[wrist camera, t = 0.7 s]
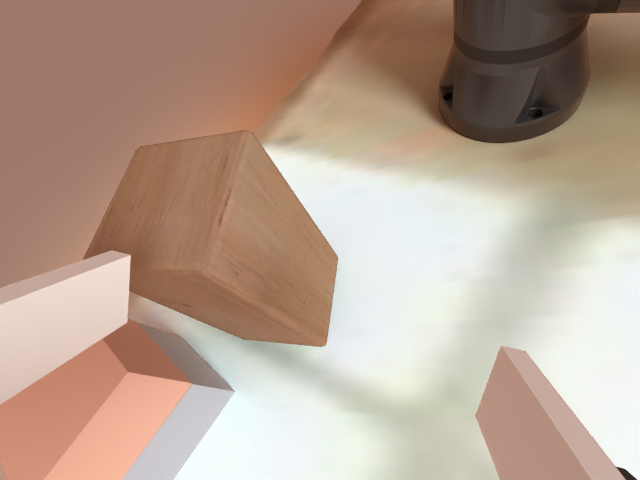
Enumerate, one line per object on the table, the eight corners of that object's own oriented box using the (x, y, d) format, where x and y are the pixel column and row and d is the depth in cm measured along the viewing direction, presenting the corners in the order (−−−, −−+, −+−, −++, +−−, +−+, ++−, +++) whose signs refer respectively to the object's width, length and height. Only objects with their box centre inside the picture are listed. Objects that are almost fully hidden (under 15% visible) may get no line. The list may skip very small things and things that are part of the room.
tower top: (136, 322, 35) (72, 300, 29) (192, 383, 30) (128, 372, 24) (64, 411, 33) (-20, 407, 27) (111, 494, 27) (18, 511, 22)
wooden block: (241, 339, 38) (73, 269, 21) (261, 256, 42) (135, 144, 25) (327, 348, 34) (206, 271, 18) (339, 256, 38) (251, 125, 22)
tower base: (182, 337, 40) (136, 322, 35) (235, 391, 35) (192, 384, 29) (123, 414, 38) (64, 411, 33) (171, 483, 33) (110, 494, 27)
